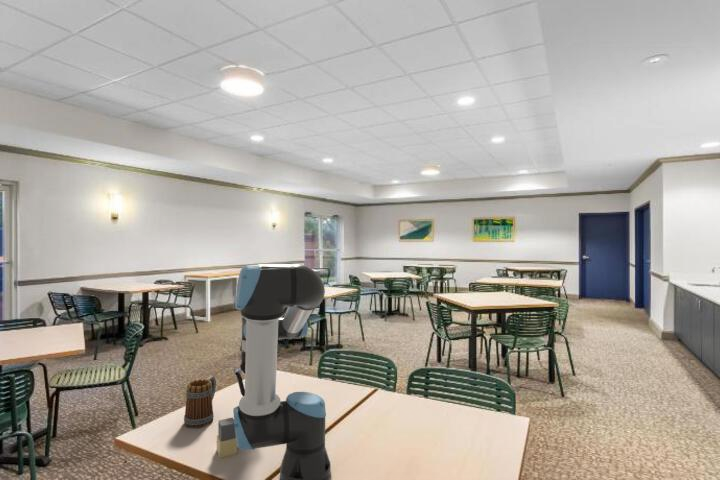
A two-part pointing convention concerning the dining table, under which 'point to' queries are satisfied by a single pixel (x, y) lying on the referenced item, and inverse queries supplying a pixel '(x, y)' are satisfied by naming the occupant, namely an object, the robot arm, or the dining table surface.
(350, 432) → the dining table surface
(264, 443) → the robot arm
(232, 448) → the plug
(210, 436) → the dining table surface
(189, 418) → the mug
